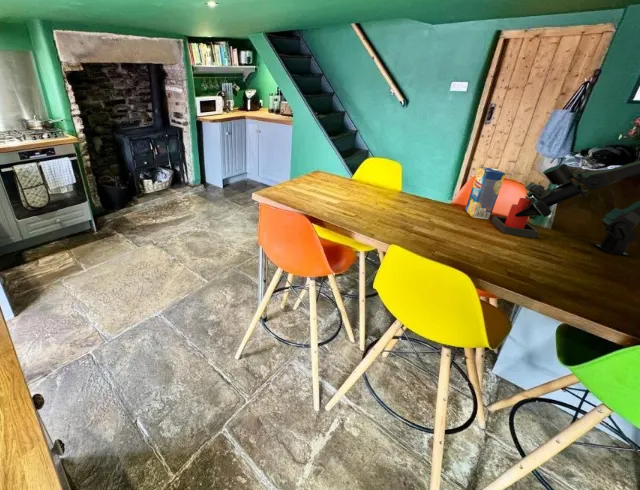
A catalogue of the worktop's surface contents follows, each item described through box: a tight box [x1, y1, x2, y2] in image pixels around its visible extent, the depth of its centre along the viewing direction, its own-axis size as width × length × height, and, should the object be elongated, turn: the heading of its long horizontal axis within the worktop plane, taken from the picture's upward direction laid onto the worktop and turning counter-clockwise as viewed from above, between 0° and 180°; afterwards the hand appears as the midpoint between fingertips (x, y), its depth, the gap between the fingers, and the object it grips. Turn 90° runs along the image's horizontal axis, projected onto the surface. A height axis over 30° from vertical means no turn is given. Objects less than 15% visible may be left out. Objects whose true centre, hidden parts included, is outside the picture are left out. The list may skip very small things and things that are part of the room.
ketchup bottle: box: [505, 197, 530, 229], centre depth 126 cm, size 6×6×14 cm
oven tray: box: [491, 215, 539, 239], centre depth 128 cm, size 13×11×3 cm
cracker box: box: [464, 166, 507, 221], centre depth 141 cm, size 7×11×22 cm, turn 162°
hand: (514, 213), depth 127 cm, fingers open, 7 cm apart
